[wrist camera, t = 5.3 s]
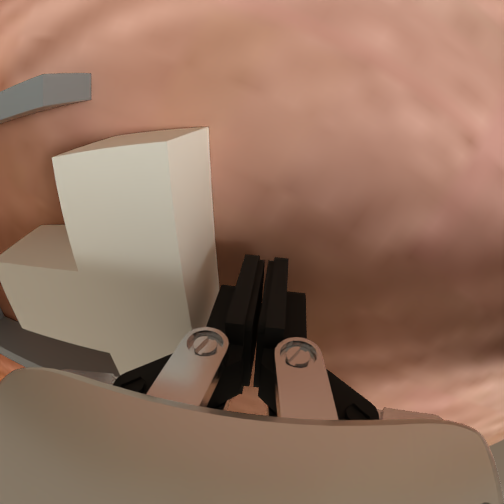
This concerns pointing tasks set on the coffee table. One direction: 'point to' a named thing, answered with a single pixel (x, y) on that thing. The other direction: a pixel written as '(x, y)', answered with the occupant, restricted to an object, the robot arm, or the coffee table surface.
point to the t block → (122, 248)
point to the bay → (3, 329)
